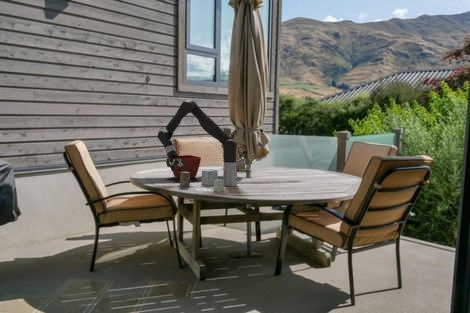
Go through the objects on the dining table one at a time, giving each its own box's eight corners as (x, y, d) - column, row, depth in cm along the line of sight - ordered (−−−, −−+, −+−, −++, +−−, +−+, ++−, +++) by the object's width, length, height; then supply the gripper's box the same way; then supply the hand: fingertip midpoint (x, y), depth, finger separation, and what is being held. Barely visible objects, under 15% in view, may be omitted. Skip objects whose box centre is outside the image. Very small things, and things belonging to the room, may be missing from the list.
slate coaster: (187, 185, 307) (187, 184, 307) (193, 187, 300) (193, 186, 300) (176, 186, 302) (176, 185, 302) (182, 188, 295) (182, 187, 295)
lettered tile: (206, 188, 298) (206, 188, 297) (212, 190, 290) (212, 190, 290) (194, 189, 293) (194, 189, 293) (201, 192, 285) (201, 191, 285)
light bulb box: (211, 183, 321) (211, 168, 320) (217, 184, 316) (218, 169, 315) (201, 184, 312) (201, 170, 311) (207, 186, 308) (208, 171, 307)
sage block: (218, 190, 292) (218, 178, 291) (223, 191, 289) (224, 179, 288) (213, 191, 288) (213, 179, 287) (218, 192, 285) (218, 180, 284)
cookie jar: (249, 171, 387) (250, 135, 384) (222, 170, 387) (223, 135, 383) (248, 167, 412) (249, 134, 408) (222, 166, 411) (223, 133, 408)
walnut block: (186, 185, 305) (186, 171, 304) (189, 186, 300) (189, 172, 299) (180, 186, 302) (180, 172, 301) (183, 187, 298) (183, 173, 297)
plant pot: (180, 180, 330) (180, 158, 328) (168, 176, 345) (168, 156, 343) (201, 178, 341) (201, 157, 339) (189, 175, 356) (189, 154, 355)
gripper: (165, 149, 310) (172, 168, 303) (181, 150, 320) (189, 167, 312) (161, 155, 315) (168, 174, 308) (177, 156, 324) (184, 173, 317)
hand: (178, 171), depth 310 cm, fingers open, 8 cm apart
